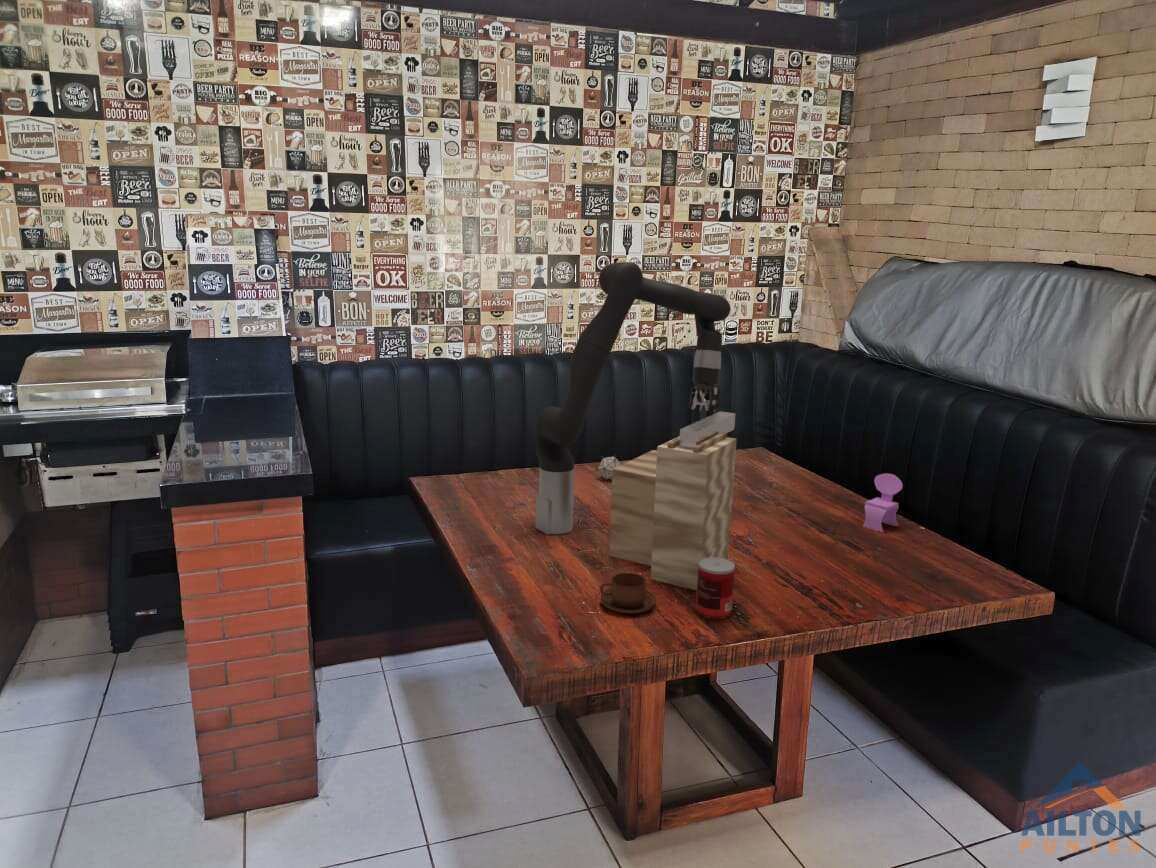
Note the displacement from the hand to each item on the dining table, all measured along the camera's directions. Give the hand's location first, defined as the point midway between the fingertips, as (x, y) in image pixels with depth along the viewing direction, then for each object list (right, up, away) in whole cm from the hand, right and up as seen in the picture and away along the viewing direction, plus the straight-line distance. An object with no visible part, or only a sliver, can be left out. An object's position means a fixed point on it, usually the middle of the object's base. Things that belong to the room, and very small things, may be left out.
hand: (701, 424), depth 240 cm
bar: (-4, -4, -40) cm, 41 cm away
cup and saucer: (-24, -40, -56) cm, 73 cm away
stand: (-12, -34, -29) cm, 46 cm away
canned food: (-6, -41, -58) cm, 72 cm away
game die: (-25, -18, +35) cm, 46 cm away
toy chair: (+50, -29, -3) cm, 58 cm away
